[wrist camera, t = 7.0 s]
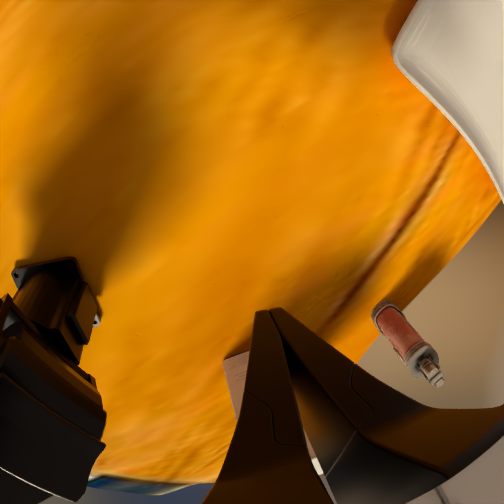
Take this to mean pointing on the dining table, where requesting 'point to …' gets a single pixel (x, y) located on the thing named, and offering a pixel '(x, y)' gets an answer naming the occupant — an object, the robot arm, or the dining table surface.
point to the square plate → (460, 70)
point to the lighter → (407, 343)
